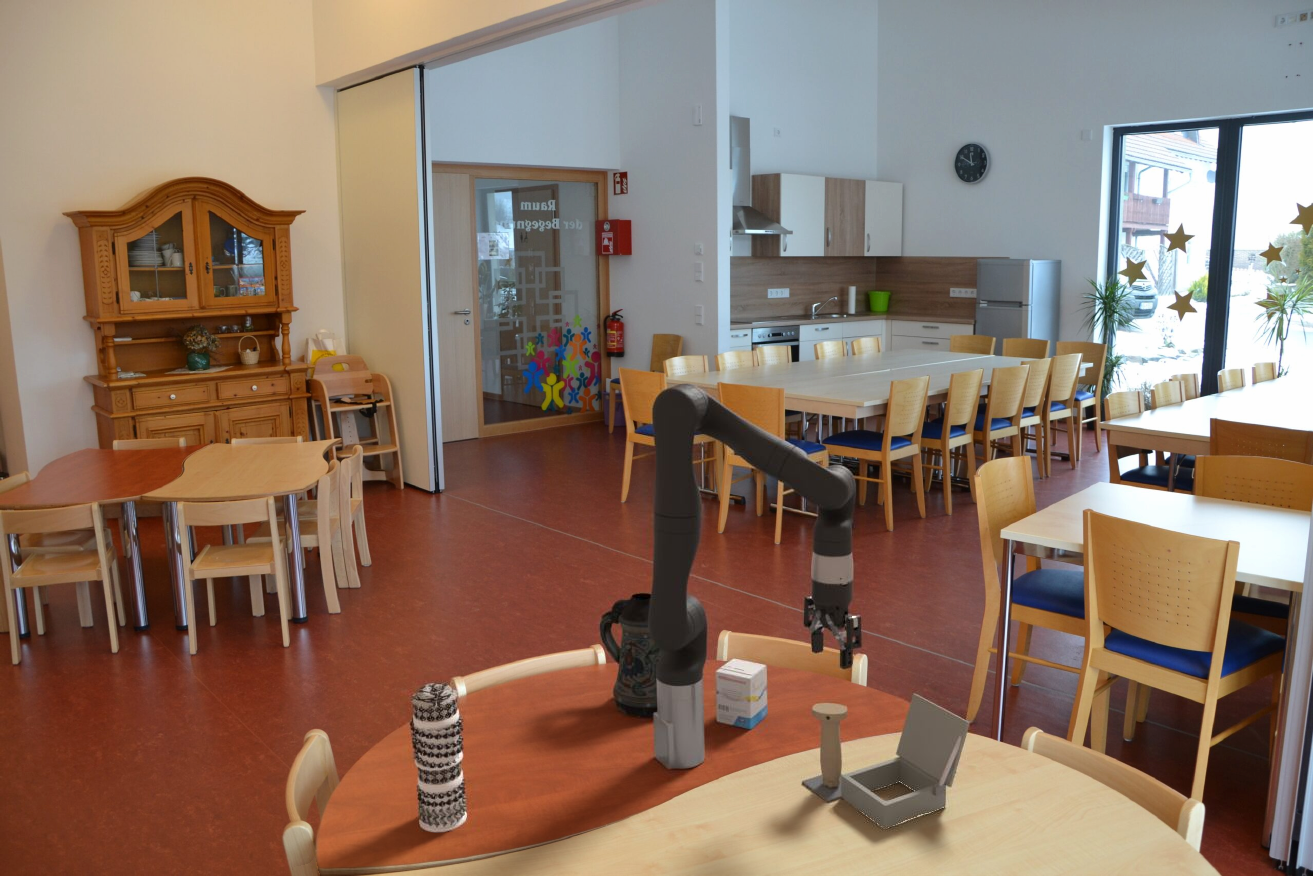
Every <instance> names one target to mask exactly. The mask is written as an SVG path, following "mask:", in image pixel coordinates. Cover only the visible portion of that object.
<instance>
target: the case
mask: <svg viewBox="0 0 1313 876" xmlns="http://www.w3.org/2000/svg"><path fill="white" fill-rule="evenodd" d="M970 724H971V722H970V721H968V720H966V719H964V718H962V717H960V716H959V715H957V714H955V713H953V712H951V711H949V710H947V709H945V708H944V707H941V706H940V705H937V704H936V703H934V702H932V701H930V700H928V699H926V698H924V697H922V696H921V695H919V694H917V693H912V697H911V701H910V703H909V707H908V710H907V714H906V718H905V721H904V725H903V728H902V731H901V735H900V738H899V741H898V745H897V749H896V752H895V754H896V756H898V757H895V758H894V757H893V758H892V759H888V760H885V761H882V762H878V763H875V764H873V765H869V766H867V767H862V768H861V769H857V770H854V771H851V772H847V773H845V774H842V775H841V798H840V799H842V798H843V799H844V800H843V799H842V800H843V801H844V802H846V801H847V802H848V803H847V802H846V803H847V804H849V803H850V804H851V805H852V806H851V805H850V804H849V805H850V806H851V807H853V806H854V807H855V808H854V807H853V808H854V809H855V810H857V809H858V810H859V811H858V810H857V811H858V812H860V811H861V812H863V813H864V814H865V815H867V816H868V817H869V818H871V819H872V820H874V821H875V822H876V823H878V824H879V825H880V826H882V827H883V828H884V829H885V830H887V829H886V828H888V827H891V826H893V825H896V824H898V823H901V822H903V821H905V820H908V819H911V818H914V817H917V816H918V815H921V814H925V813H929V812H932V811H935V810H937V809H940V808H942V807H945V806H946V804H947V801H946V800H947V787H949V788H952V787H953V784H954V779H955V776H956V773H957V769H958V766H959V763H960V759H961V756H962V752H963V749H964V745H965V742H966V738H967V734H968V732H969V728H970ZM899 781H900V782H902V783H903V784H905V785H907V786H908V787H910V788H911V789H913V790H915V792H914V791H912V792H909V793H907V794H904V795H900V796H897V797H895V798H892V799H890V800H884V799H883V798H881V797H879V795H877V794H876V793H874V791H873V790H875V791H877V790H876V789H878V788H881V787H884V786H887V787H889V786H888V785H890V784H893V783H896V782H899ZM900 782H899V783H900ZM902 783H901V784H902ZM896 784H897V783H896ZM903 784H902V785H903ZM893 785H894V784H893ZM905 785H904V786H905ZM890 786H891V785H890ZM908 787H907V788H908ZM884 788H885V787H884ZM881 789H882V788H881ZM911 789H910V790H911ZM878 790H879V789H878ZM871 791H872V792H871ZM861 812H860V813H861ZM864 814H863V815H864ZM865 815H864V816H865ZM868 817H867V818H868ZM869 818H868V819H869ZM871 819H870V820H871ZM872 820H871V821H872ZM875 822H874V823H875ZM876 823H875V824H876ZM879 825H878V826H879ZM880 826H879V827H880ZM882 827H881V828H882ZM883 828H882V829H883ZM891 828H892V827H891ZM884 829H883V830H884ZM888 829H889V828H888Z"/></svg>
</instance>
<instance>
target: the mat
mask: <svg viewBox="0 0 1313 876" xmlns="http://www.w3.org/2000/svg"><path fill="white" fill-rule="evenodd" d="M841 775H843V774H842V773H841ZM840 777H841V776H840ZM822 779H823V776H822V774H820V775H817V776H814V777H811V778H808V779H803V780H802V781H801V783H802V784H803V783H804V784H805V785H806V786H805V785H804V784H803V785H804V786H805V787H807V786H808V787H809V788H810V789H809V788H808V787H807V788H808V789H809V790H811V789H812V790H813V791H814V792H813V791H812V790H811V791H812V792H813V793H815V794H816V793H817V794H818V795H817V794H816V795H817V796H819V797H820V798H821V797H822V798H821V799H823V800H824V801H825V802H827V803H830V802H834V801H836V799H837V800H840V799H842V798H841V780H840V784H839V786H838V787H832V788H829V787H828V786H825V785H824V784H823V780H822ZM839 798H840V799H839ZM833 800H834V801H833Z"/></svg>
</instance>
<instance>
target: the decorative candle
mask: <svg viewBox="0 0 1313 876" xmlns="http://www.w3.org/2000/svg"><path fill="white" fill-rule="evenodd" d="M458 696H459V693H458V691H457V690H456V689H453V688H452V686H450V685H449V684H446V683H443V682H433V683H432V682H431V683H427V684H424V685H422V686H421V687H419V688H418V690H417V692H416V693H414V694H413V695H412V696H411V699H410V701H411V703H412V704H413V706H412V707H413V715H412V718H411V721H410V722H409V725H410V727H409V729H410V730H411V731H412V732H411V734H410V736H411V740H412V743H411V744H412V749H413V750H414V751H413V752H412V753H413V759H414V763H415V766H416V767H417V773H418V775H417V785H416V792H417V798H416V799H417V801H418V802H417V811H418V818H419V820H418V823H419V826H420V828H421V829H423V830H425V832H430V833H445V832H448V831H452V830H455V829H457V828H460V827H461V826H462V825H463V824H464V823H465V822H466V821H467V816H468V813H467V812H466V811H467V809H468V808H467V804H466V803H467V796H466V795H465V794H466V792H467V791H466V787H465V786H466V785H465V784H466V782H465V781H466V780H465V779H464V772H463V770H462V769H463V768H462V760H463V758H464V753H463V751H464V744H463V743H462V742H464V737H463V735H462V732H463V731H464V726H463V725H462V723H463V722H464V719H463V717H462V716H461V715H460V712H459V711H460V709H459V708H458V699H457V698H458Z"/></svg>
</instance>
